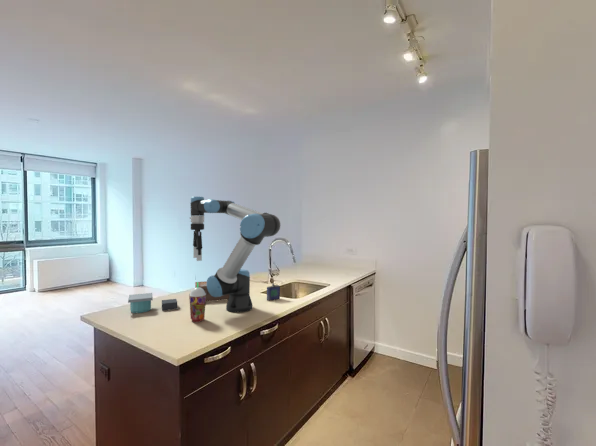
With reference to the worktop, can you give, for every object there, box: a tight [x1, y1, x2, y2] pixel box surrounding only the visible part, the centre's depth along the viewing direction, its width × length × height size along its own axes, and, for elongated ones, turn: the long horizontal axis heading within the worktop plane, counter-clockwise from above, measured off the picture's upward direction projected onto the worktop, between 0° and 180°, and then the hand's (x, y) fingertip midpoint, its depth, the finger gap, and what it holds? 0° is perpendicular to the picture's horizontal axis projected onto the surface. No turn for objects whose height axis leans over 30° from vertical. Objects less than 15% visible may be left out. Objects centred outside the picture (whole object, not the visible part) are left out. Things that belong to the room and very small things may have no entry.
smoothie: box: [188, 281, 207, 323], centre depth 159 cm, size 8×8×20 cm
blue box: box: [266, 282, 281, 302], centre depth 200 cm, size 9×3×11 cm, turn 121°
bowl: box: [129, 300, 152, 314], centre depth 176 cm, size 10×10×6 cm
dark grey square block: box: [161, 298, 178, 312], centre depth 181 cm, size 8×8×4 cm
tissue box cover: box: [194, 280, 229, 302], centre depth 204 cm, size 26×14×10 cm, turn 109°
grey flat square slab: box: [127, 292, 153, 304], centre depth 176 cm, size 12×12×2 cm
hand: (197, 259), depth 181 cm, fingers open, 13 cm apart
